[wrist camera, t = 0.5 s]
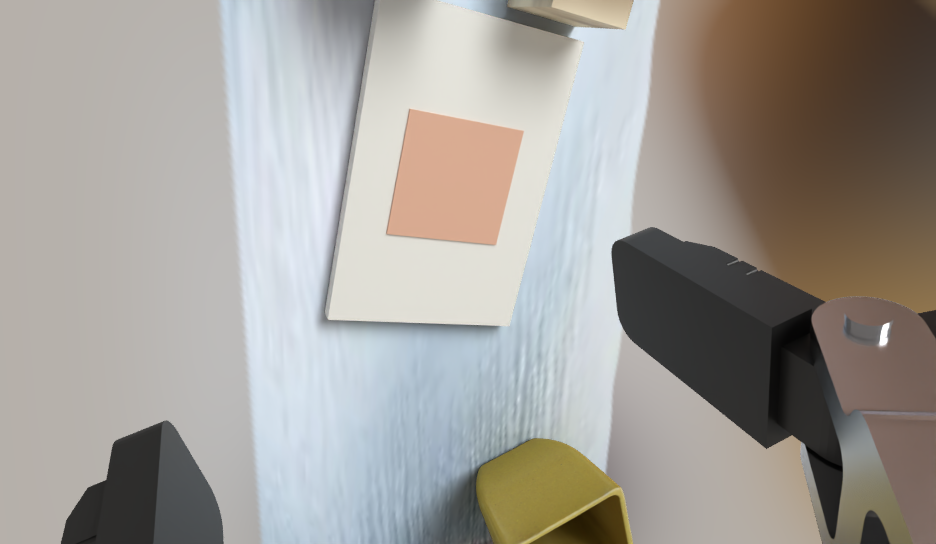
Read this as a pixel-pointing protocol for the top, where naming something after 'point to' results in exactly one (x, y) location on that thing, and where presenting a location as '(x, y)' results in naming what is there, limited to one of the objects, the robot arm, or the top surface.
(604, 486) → the flower pot
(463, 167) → the board
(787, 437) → the robot arm
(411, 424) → the top surface
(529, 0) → the maple block
